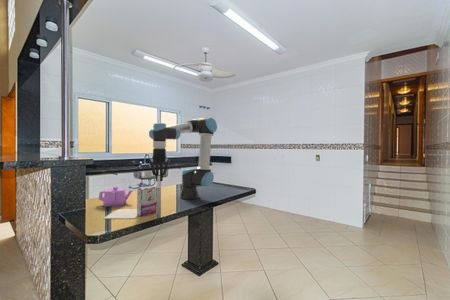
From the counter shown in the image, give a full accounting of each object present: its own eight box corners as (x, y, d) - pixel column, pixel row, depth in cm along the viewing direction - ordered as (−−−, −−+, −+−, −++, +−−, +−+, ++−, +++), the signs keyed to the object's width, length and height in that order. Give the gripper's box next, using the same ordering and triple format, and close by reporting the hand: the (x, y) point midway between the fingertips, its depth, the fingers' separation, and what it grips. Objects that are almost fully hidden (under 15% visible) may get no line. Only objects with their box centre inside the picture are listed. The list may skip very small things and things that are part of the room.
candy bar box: (152, 210, 145) (153, 185, 144) (156, 212, 142) (157, 186, 141) (136, 214, 136) (137, 187, 135) (140, 216, 133) (141, 189, 132)
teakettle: (96, 205, 158) (96, 187, 158) (118, 200, 173) (118, 184, 173) (112, 208, 150) (112, 190, 150) (133, 202, 165) (133, 186, 165)
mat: (145, 209, 148) (145, 209, 148) (134, 218, 130) (134, 218, 130) (117, 209, 147) (117, 209, 147) (103, 218, 129) (103, 218, 129)
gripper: (171, 148, 141) (171, 185, 142) (150, 148, 141) (150, 185, 142) (168, 148, 134) (168, 187, 134) (146, 148, 134) (146, 187, 134)
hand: (159, 186), depth 138 cm, fingers closed
